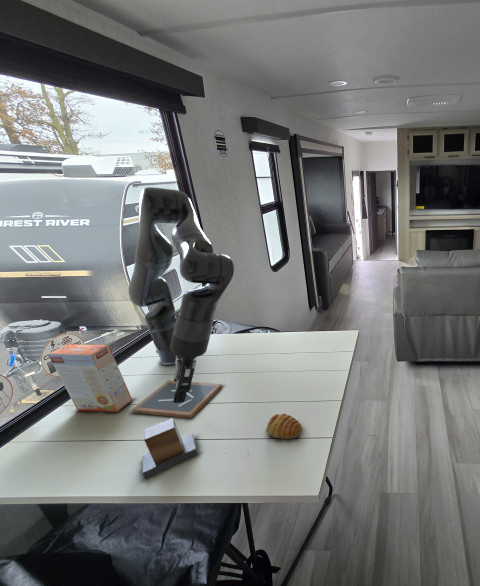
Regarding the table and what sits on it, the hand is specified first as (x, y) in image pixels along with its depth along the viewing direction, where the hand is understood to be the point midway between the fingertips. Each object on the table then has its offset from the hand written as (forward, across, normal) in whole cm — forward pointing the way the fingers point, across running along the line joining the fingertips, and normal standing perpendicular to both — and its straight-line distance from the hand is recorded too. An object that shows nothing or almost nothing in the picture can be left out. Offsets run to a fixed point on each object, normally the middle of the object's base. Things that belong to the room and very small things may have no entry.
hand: (178, 390), depth 76 cm
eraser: (+18, -3, -2) cm, 18 cm away
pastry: (+7, -10, -26) cm, 29 cm away
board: (+19, +22, -4) cm, 29 cm away
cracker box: (+28, +32, +14) cm, 45 cm away
